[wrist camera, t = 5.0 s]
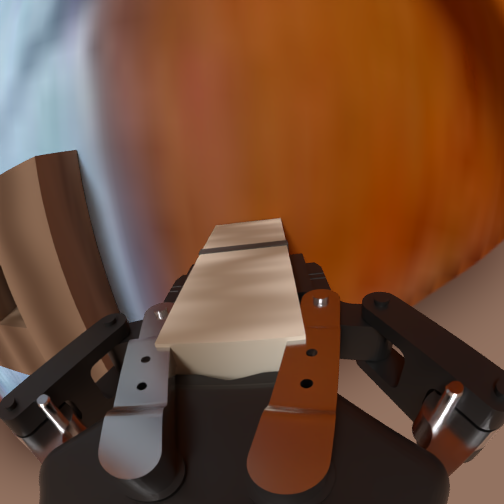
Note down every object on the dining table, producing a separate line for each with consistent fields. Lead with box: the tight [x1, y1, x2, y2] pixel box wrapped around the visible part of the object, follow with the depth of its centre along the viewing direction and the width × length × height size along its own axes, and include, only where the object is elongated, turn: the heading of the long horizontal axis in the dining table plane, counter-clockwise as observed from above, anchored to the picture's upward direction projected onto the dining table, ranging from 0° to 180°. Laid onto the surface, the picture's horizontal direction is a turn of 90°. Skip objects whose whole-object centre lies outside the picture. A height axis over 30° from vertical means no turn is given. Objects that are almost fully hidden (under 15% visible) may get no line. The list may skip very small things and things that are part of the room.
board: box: [0, 150, 120, 383], centre depth 16 cm, size 18×16×4 cm
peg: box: [155, 218, 306, 380], centre depth 11 cm, size 4×4×10 cm
